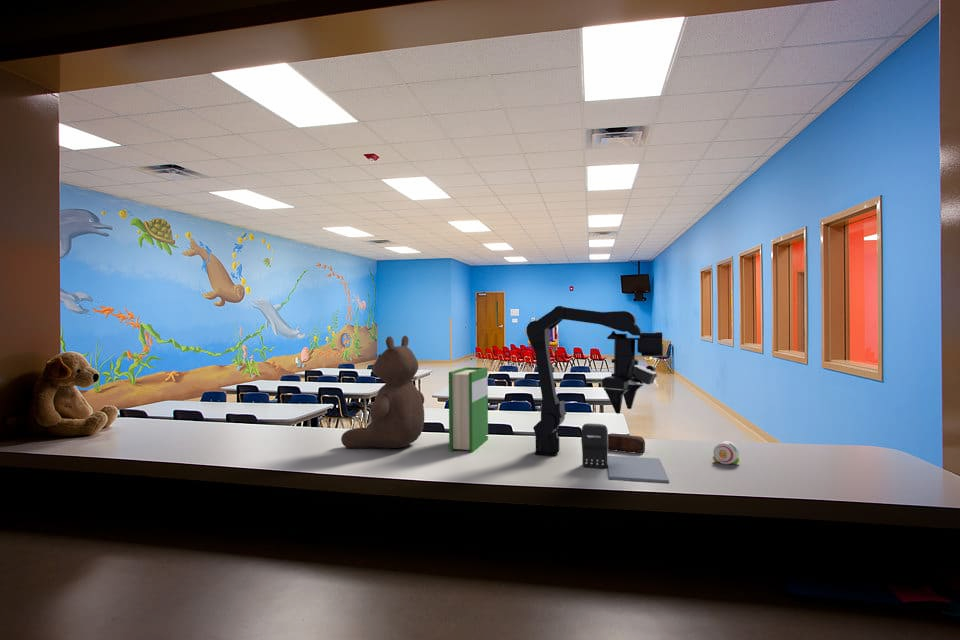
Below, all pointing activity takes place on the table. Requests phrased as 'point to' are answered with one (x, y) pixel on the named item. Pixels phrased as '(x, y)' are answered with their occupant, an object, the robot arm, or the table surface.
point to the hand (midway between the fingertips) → (623, 411)
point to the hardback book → (468, 408)
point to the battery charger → (594, 445)
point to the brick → (626, 443)
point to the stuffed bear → (392, 403)
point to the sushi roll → (726, 453)
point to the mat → (636, 469)
